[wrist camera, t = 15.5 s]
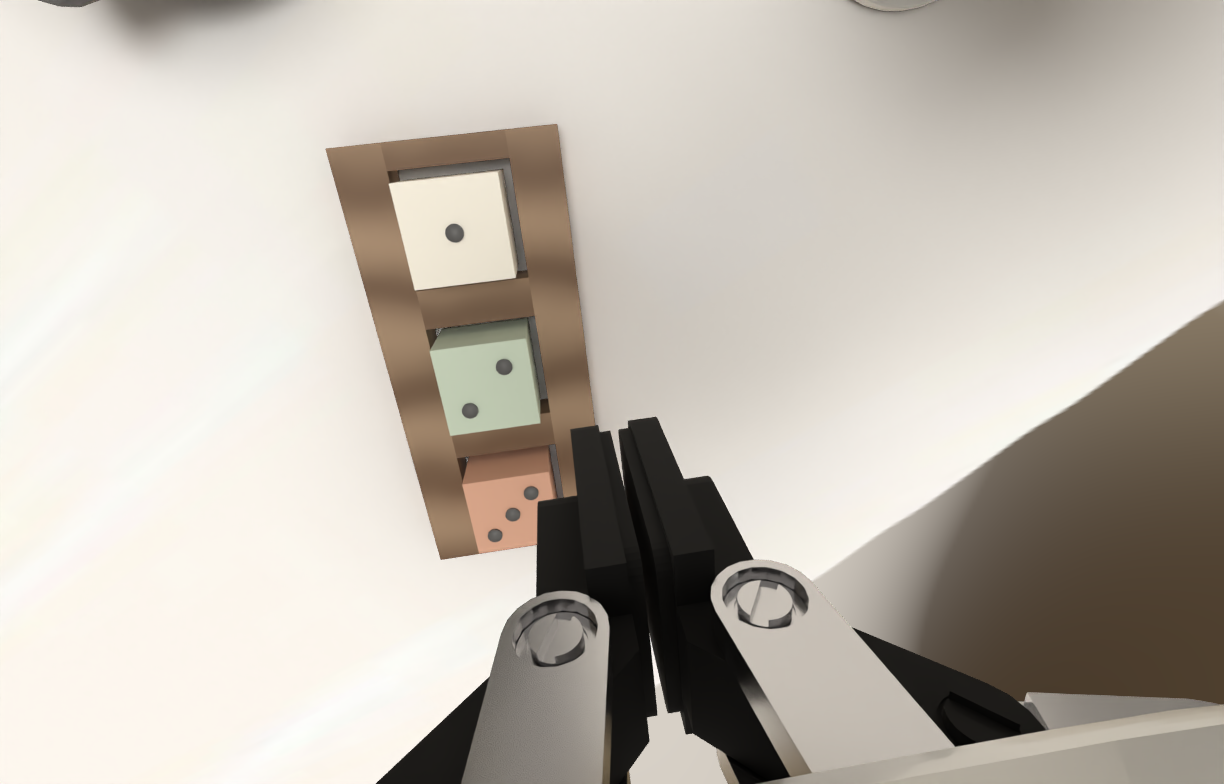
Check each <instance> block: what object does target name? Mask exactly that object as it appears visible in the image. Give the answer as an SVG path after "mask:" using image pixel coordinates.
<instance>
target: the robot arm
mask: <svg viewBox="0 0 1224 784" xmlns="http://www.w3.org/2000/svg"><path fill="white" fill-rule="evenodd" d="M855 1H856V2H858V3H860V4H862V5H863V6H866V7H870V8H874V9H877V10H881V11H904V10H909V9H913V8H918V7H921V6H924V5H926V4H929V3H931V2H934V1H937V0H855ZM570 433H571V442H572V452H573V462H574V471H575V481H576V491H577V496H570V497H563V498H557V499H550V500H543V501H538V506H537V582H536V597H535V598H533V599H530V600H529V601H527V602H526V603H525V604H523V605H522V606H520V607H519V608H517V610H516V611H515V612H514V613H513V614H512V615H511V616H510V617H509V619H508V620H507V622H506V624H505V626H504V628H503V631H502V633H501V636H500V640H499V644H498V647H497V651H496V655H495V659H494V662H493V666H492V670H491V674H490V677H489V678H488V679H486V680H485V681H484V682H483V683H482V684H481V685H480V686H479V687H478V688H477V689H476V690H475V691H474V692H473V693H472V694H471V695H469V696H468V697H467V698H466V699H465V700H464V701H463V702H462V703H461V704H460V705H459V706H458V707H457V708H456V709H455V710H454V711H452V712H451V713H450V714H449V715H448V716H447V717H446V718H445V719H444V720H443V721H442V722H441V723H440V724H439V725H438V726H437V727H435V728H434V729H433V730H432V731H431V732H430V733H429V734H428V735H427V736H426V737H425V738H424V739H423V740H422V741H421V742H419V743H418V744H417V745H416V746H415V747H414V748H413V749H412V750H411V751H410V752H409V753H408V754H407V755H406V756H405V757H404V758H402V759H401V760H400V761H399V762H398V763H397V764H396V765H395V766H394V767H393V768H392V769H391V770H390V771H389V772H388V773H387V774H385V775H384V776H383V777H382V778H381V779H380V780H379V781H378V782H377V783H376V784H631V782H630V774H629V769H630V768H631V766H632V765H633V764H634V762H635V761H636V759H637V758H638V756H639V755H640V754H641V752H642V751H643V750H644V748H645V747H646V745H647V744H648V742H649V734H648V724H647V717H651V716H657V705H656V695H655V685H654V675H653V665H652V655H651V645H650V637H651V642H652V646H653V651H654V655H655V660H656V664H657V669H658V673H659V677H660V682H661V686H662V691H663V695H664V700H665V704H666V708H667V711H668V713H673V712H679V711H680V713H681V717H682V721H683V725H684V729H685V733H686V734H692V733H693V734H695V735H697V736H698V737H700V738H701V739H703V740H704V741H706V742H707V743H709V744H711V745H712V746H714V747H716V748H717V756H718V760H719V764H720V767H721V770H722V772H723V774H724V776H725V778H726V781H727V783H728V784H1224V705H1218V704H1215V703H1210V702H1204V701H1198V700H1192V699H1176V698H1151V697H1127V696H1101V695H1075V694H1052V693H1027V695H1026V698H1025V702H1018V701H1016V700H1015V699H1014V698H1013V697H1011V696H1010V695H1008V694H1007V693H1005V692H1003V691H1001V690H999V689H997V688H995V687H993V686H991V685H989V684H987V683H985V682H982V681H980V680H978V679H975V678H973V677H970V676H968V675H966V674H963V673H961V672H958V671H956V670H953V669H951V668H948V667H946V666H944V665H941V664H939V663H937V662H934V661H932V660H930V659H927V658H925V657H922V656H920V655H917V654H915V653H913V652H910V651H908V650H905V649H903V648H900V647H898V646H896V645H893V644H891V643H888V642H886V641H884V640H881V639H879V638H876V637H874V636H871V635H869V634H867V633H864V632H862V631H859V630H857V629H855V628H852V627H851V626H850V625H849V624H848V623H847V622H846V620H845V619H844V618H843V617H842V616H841V615H840V613H839V612H838V611H837V610H836V609H835V608H834V607H833V606H832V604H831V603H830V602H829V601H828V600H827V599H826V597H825V596H824V595H823V594H822V593H821V592H820V591H819V589H818V588H817V587H816V586H815V585H814V583H813V582H812V581H811V580H809V579H808V578H807V577H806V576H805V575H804V574H803V573H801V572H800V571H798V570H796V569H794V568H792V567H790V566H788V565H786V564H782V563H778V562H775V561H771V560H754V559H753V557H752V555H751V554H750V552H749V550H748V548H747V546H746V544H745V542H744V540H743V538H742V536H741V534H740V532H739V530H738V529H737V527H736V525H735V523H734V521H733V519H732V517H731V515H730V513H729V511H728V509H727V507H726V505H725V504H724V502H723V500H722V498H721V496H720V494H719V492H718V490H717V488H716V486H715V484H714V482H713V481H712V479H711V478H710V477H709V476H703V477H696V478H690V479H683V476H682V474H681V472H680V469H679V467H678V465H677V462H676V460H675V458H674V456H673V453H672V451H671V449H670V446H669V444H668V442H667V439H666V437H665V435H664V433H663V430H662V428H661V426H660V423H659V421H658V419H657V417H652V418H645V419H637V420H630V421H628V428H626V429H619V442H620V451H621V461H622V470H623V479H624V485H623V481H622V477H621V473H620V469H619V465H618V461H617V457H616V453H615V449H614V445H613V441H612V437H611V433H610V431H605V432H599V428H598V425H595V426H588V427H581V428H574V429H570ZM624 488H625V490H624ZM649 633H650V635H649Z"/></svg>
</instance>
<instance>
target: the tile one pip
mask: <svg viewBox="0 0 1224 784" xmlns="http://www.w3.org/2000/svg"><path fill="white" fill-rule="evenodd" d="M389 187H390V191H391V195H392V199H393V203H394V207H395V211H396V216H397V220H398V224H399V228H400V232H401V236H402V240H403V244H404V248H405V252H406V256H407V261H408V265H409V269H410V273H411V277H412V281H413V285H414V289H415V290H423V289H431V288H439V287H447V286H455V285H463V284H471V283H480V282H488V281H496V280H504V279H512V278H516V274H517V269H518V264H519V263H518V257H517V251H516V245H515V239H514V233H513V227H512V221H511V215H510V209H509V203H508V197H507V191H506V185H505V179H504V173H503V169H500V170H491V171H482V172H473V173H464V174H455V175H446V176H437V177H428V178H419V179H410V180H404V181H399V182H394V183H390V184H389Z"/></svg>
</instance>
